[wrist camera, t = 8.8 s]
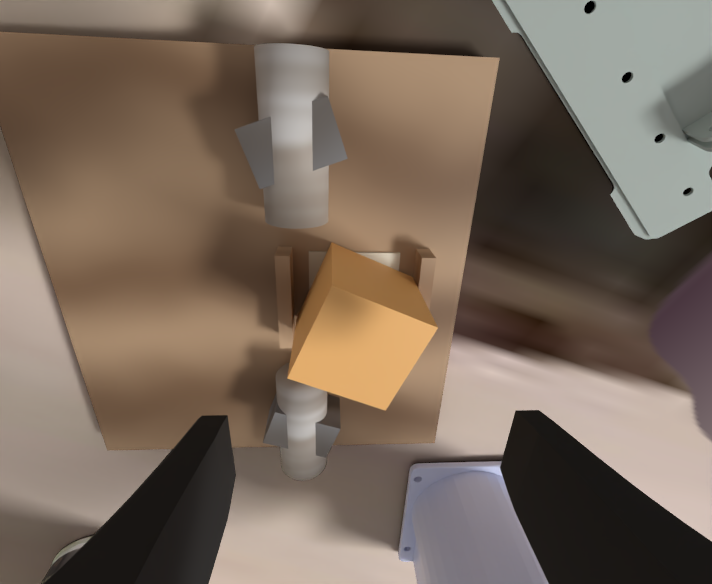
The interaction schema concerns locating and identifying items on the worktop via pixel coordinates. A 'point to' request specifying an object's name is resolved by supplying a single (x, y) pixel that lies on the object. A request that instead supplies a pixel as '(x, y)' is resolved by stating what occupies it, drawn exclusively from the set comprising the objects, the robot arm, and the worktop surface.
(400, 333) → the light orange cube
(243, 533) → the worktop surface
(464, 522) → the robot arm
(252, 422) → the jig
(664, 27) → the metal bracket
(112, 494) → the worktop surface
